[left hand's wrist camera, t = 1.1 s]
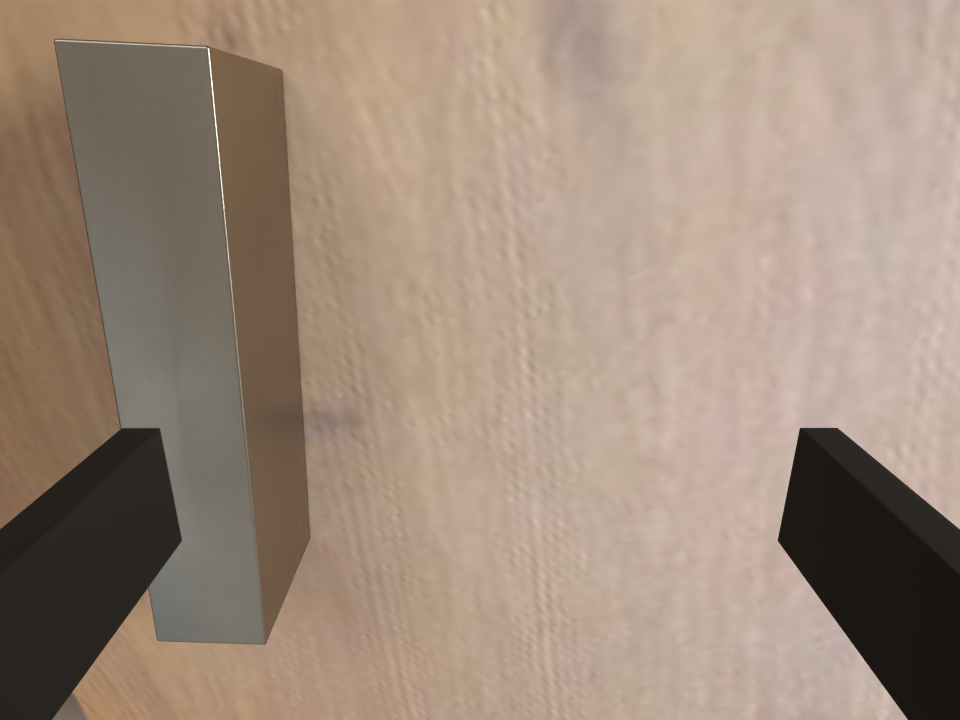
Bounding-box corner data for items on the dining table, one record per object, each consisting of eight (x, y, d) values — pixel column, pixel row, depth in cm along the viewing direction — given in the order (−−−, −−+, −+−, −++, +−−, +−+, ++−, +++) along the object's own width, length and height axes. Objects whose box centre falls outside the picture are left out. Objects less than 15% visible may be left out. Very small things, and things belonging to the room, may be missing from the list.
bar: (169, 63, 28) (52, 38, 21) (282, 69, 28) (208, 45, 21) (224, 535, 37) (156, 641, 29) (310, 538, 37) (266, 645, 29)
